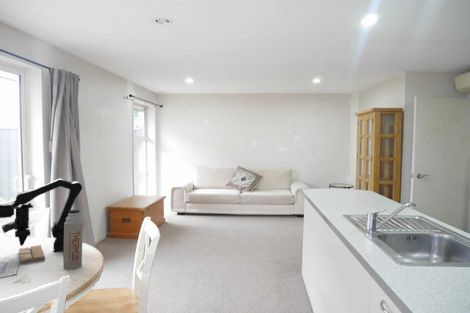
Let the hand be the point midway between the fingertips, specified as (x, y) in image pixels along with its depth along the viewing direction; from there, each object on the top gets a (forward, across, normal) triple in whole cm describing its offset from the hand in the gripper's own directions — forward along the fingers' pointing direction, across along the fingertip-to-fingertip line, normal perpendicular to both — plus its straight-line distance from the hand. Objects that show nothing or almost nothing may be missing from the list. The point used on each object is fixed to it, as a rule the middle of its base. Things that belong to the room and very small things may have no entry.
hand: (21, 245), depth 155 cm
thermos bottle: (+6, +30, +19) cm, 36 cm away
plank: (+4, +4, +1) cm, 6 cm away
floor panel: (+5, +4, +4) cm, 8 cm away
